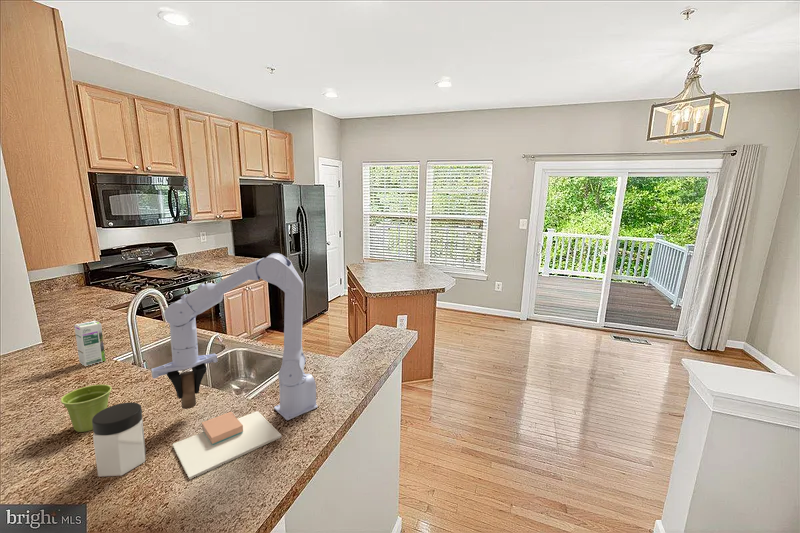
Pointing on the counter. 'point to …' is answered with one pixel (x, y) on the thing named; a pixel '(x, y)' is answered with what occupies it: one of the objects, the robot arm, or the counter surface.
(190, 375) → the pestle
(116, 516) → the counter surface
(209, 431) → the tile
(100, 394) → the plant pot
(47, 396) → the counter surface
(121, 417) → the jar
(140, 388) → the counter surface
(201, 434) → the board
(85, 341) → the syrup box
